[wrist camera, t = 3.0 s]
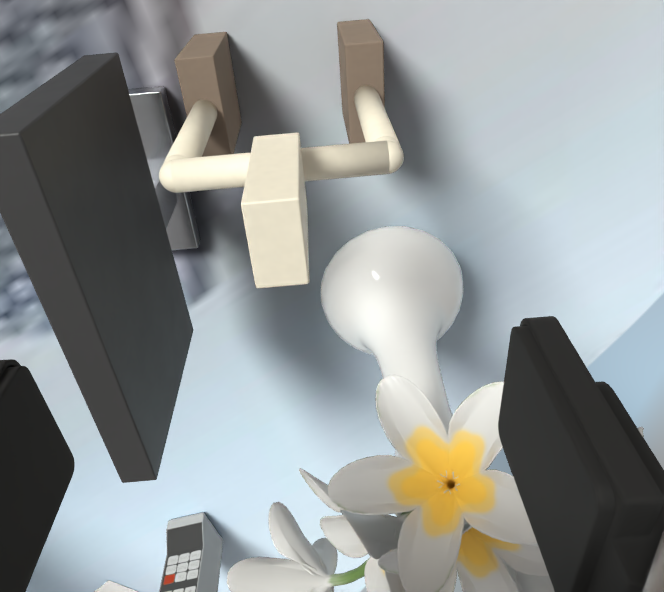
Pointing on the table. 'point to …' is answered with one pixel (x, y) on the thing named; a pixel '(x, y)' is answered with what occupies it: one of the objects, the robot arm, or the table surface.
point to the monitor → (104, 245)
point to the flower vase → (407, 447)
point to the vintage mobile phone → (192, 555)
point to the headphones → (277, 147)
